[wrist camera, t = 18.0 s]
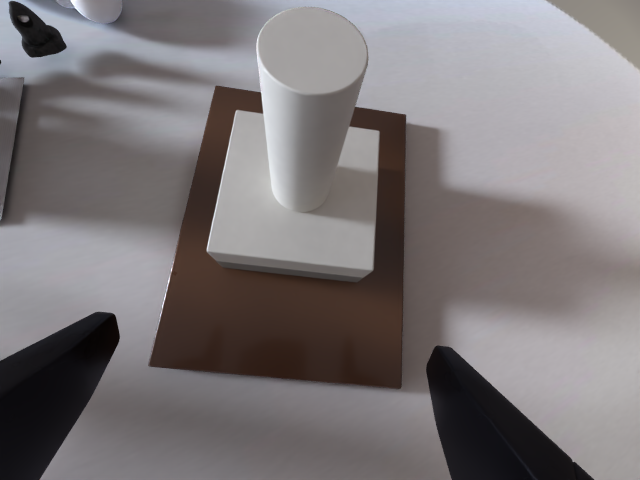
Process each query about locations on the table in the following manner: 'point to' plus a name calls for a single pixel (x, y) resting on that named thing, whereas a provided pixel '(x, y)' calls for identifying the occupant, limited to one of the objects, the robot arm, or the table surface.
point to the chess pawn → (96, 9)
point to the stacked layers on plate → (8, 127)
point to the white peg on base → (301, 157)
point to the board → (285, 283)
